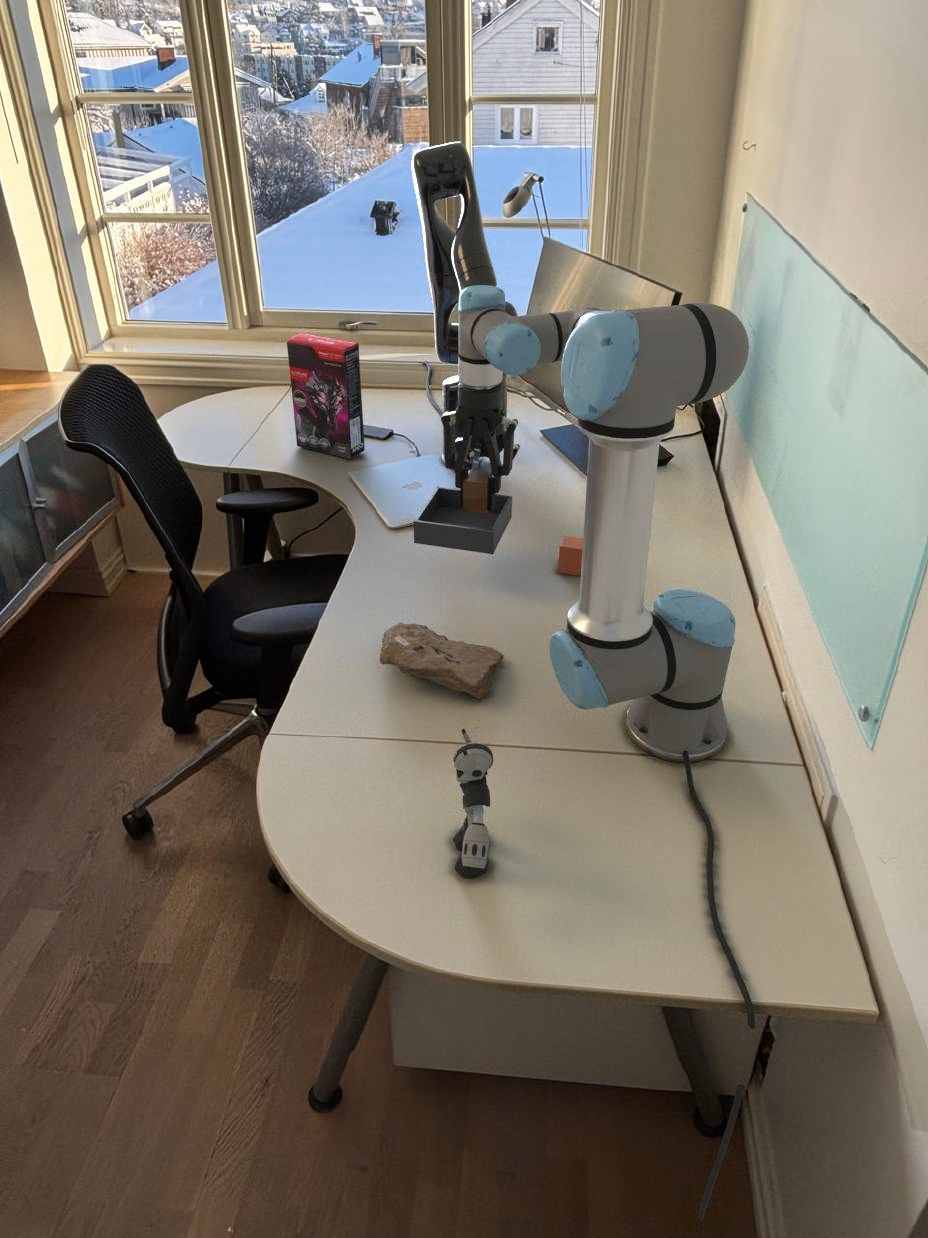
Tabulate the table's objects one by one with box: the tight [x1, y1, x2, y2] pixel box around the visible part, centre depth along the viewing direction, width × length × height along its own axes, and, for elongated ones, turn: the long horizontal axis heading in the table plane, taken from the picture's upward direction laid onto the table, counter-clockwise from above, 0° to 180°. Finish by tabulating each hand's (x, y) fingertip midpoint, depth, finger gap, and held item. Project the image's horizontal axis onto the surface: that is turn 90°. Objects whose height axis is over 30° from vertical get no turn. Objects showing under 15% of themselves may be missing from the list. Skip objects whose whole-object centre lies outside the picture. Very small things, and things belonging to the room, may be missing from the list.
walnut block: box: [463, 469, 491, 514], centre depth 168 cm, size 4×4×6 cm
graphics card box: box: [286, 332, 366, 459], centre depth 224 cm, size 17×7×27 cm, turn 62°
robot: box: [452, 728, 494, 879], centre depth 116 cm, size 20×5×20 cm, turn 3°
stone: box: [379, 622, 505, 699], centre depth 153 cm, size 21×15×6 cm
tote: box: [413, 461, 513, 555], centre depth 179 cm, size 27×15×6 cm, turn 165°
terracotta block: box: [557, 535, 583, 577], centre depth 182 cm, size 4×4×6 cm
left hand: (485, 487), depth 189 cm, fingers closed on tote, 2 cm apart
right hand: (477, 505), depth 169 cm, fingers closed on walnut block, 4 cm apart
